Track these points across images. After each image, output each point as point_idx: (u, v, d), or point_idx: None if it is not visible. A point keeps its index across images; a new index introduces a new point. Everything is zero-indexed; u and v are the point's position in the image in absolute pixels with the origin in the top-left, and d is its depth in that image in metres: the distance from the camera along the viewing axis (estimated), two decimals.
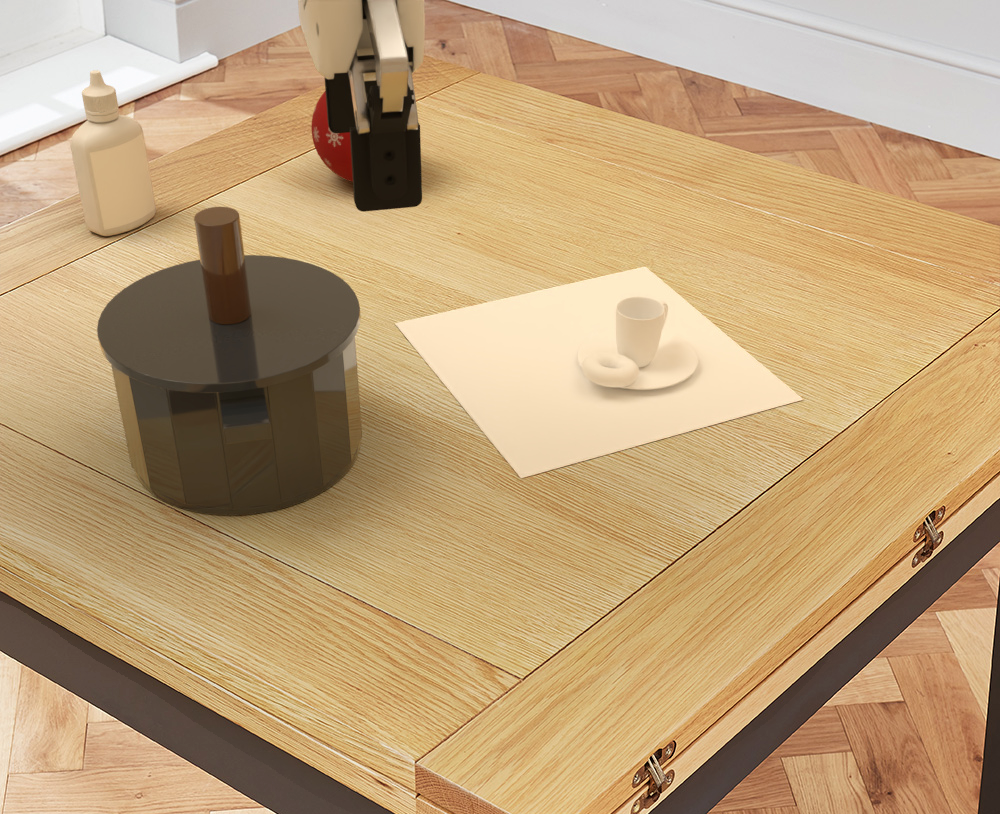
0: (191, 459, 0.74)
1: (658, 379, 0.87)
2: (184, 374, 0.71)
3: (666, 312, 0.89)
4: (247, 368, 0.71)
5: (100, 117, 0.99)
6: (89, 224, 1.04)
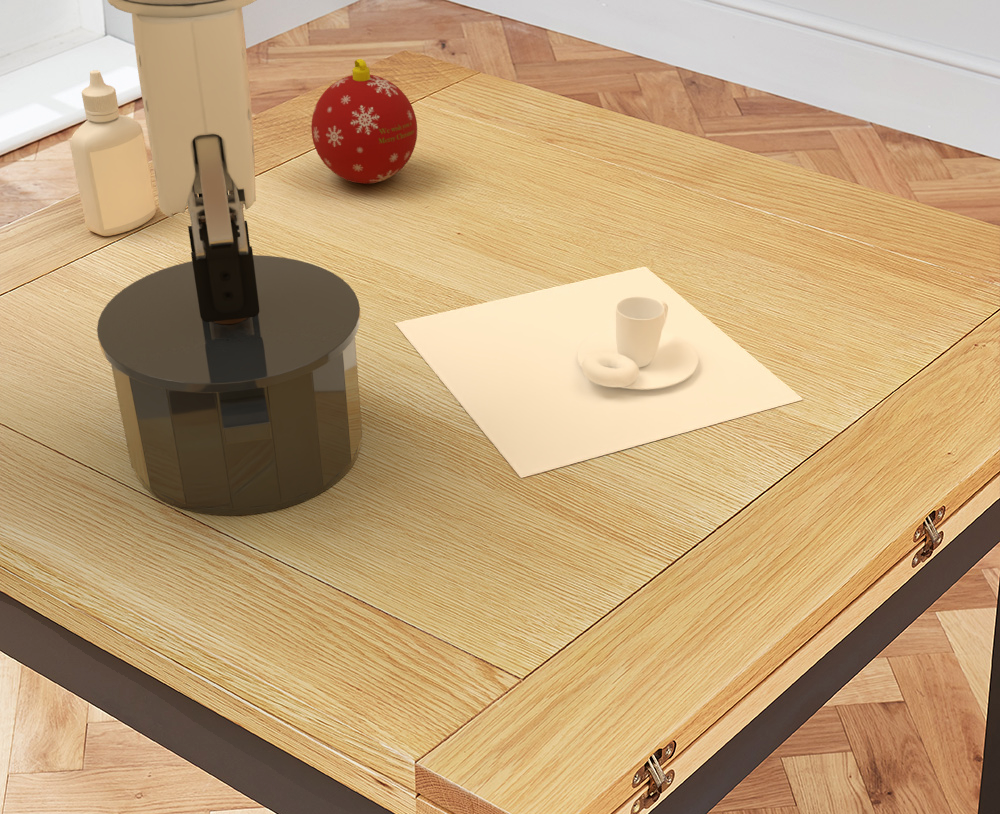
0: (191, 459, 0.74)
1: (658, 379, 0.87)
2: (184, 374, 0.71)
3: (666, 312, 0.89)
4: (247, 368, 0.71)
5: (100, 117, 1.00)
6: (89, 224, 1.04)
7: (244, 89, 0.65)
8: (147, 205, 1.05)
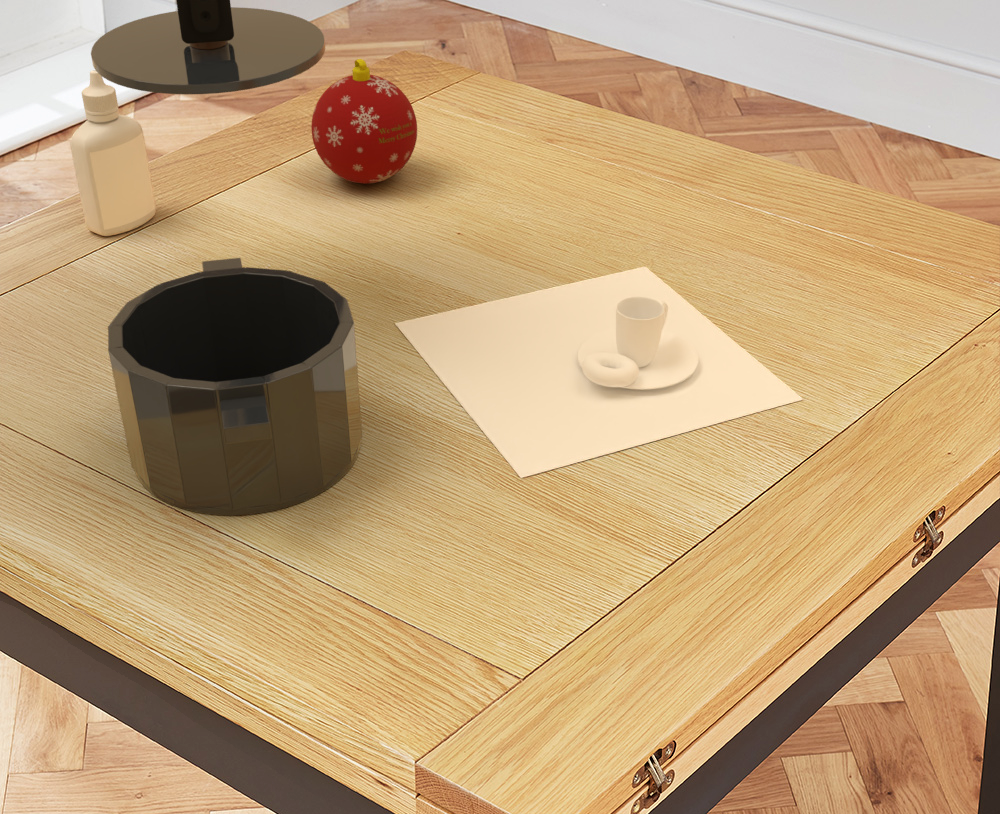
0: (191, 459, 0.74)
1: (658, 379, 0.87)
2: (167, 79, 0.81)
3: (666, 312, 0.89)
4: (223, 75, 0.81)
5: (100, 117, 0.99)
6: (89, 224, 1.04)
7: None
8: (147, 205, 1.05)
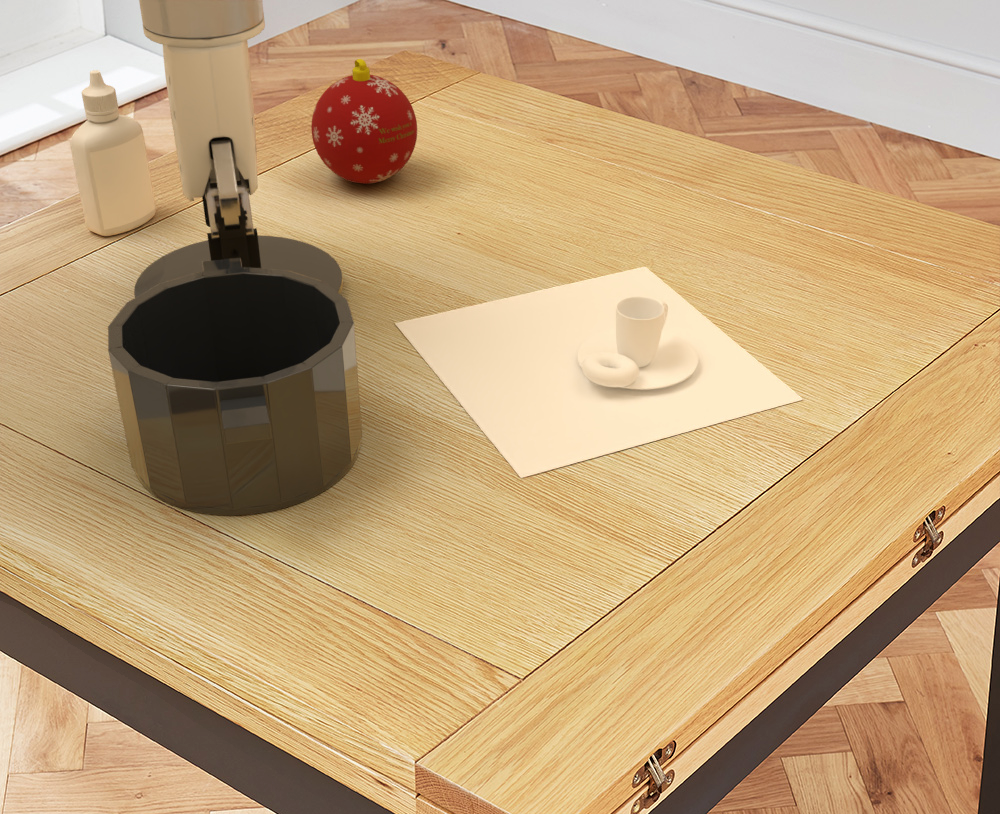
0: (191, 459, 0.74)
1: (658, 379, 0.87)
2: None
3: (666, 312, 0.89)
4: None
5: (100, 117, 0.99)
6: (89, 224, 1.04)
7: (249, 102, 0.84)
8: (147, 205, 1.05)
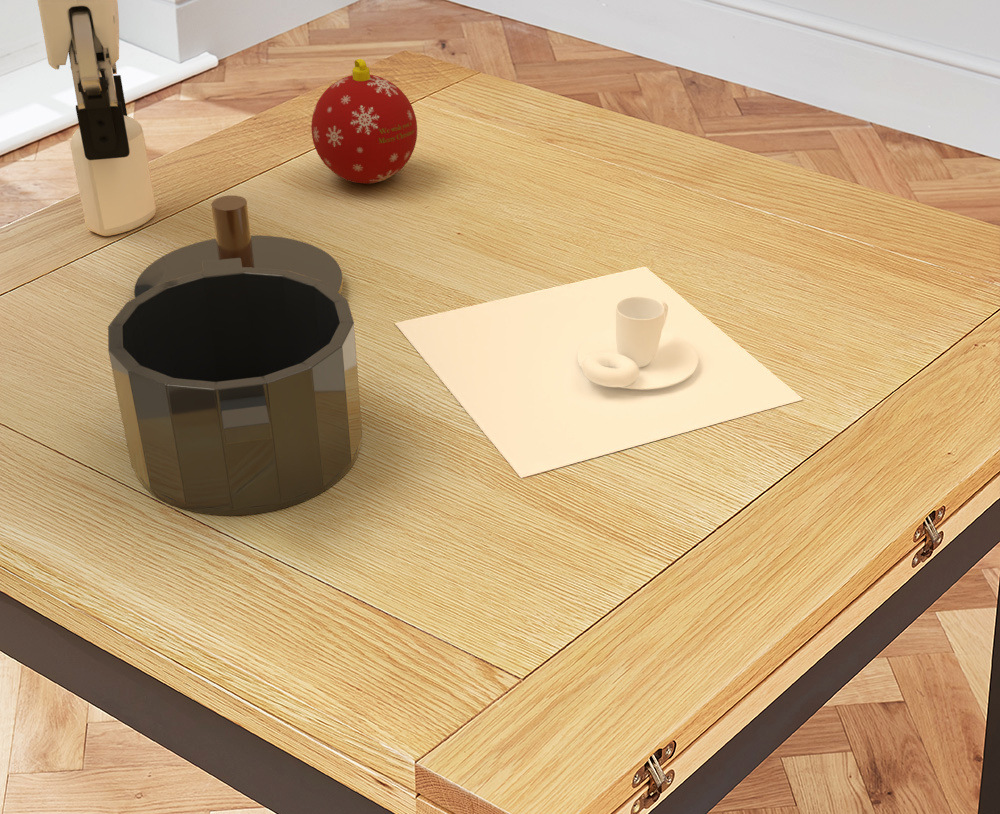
0: (191, 459, 0.74)
1: (658, 379, 0.87)
2: None
3: (666, 312, 0.89)
4: None
5: None
6: (89, 224, 1.04)
7: None
8: (147, 205, 1.05)
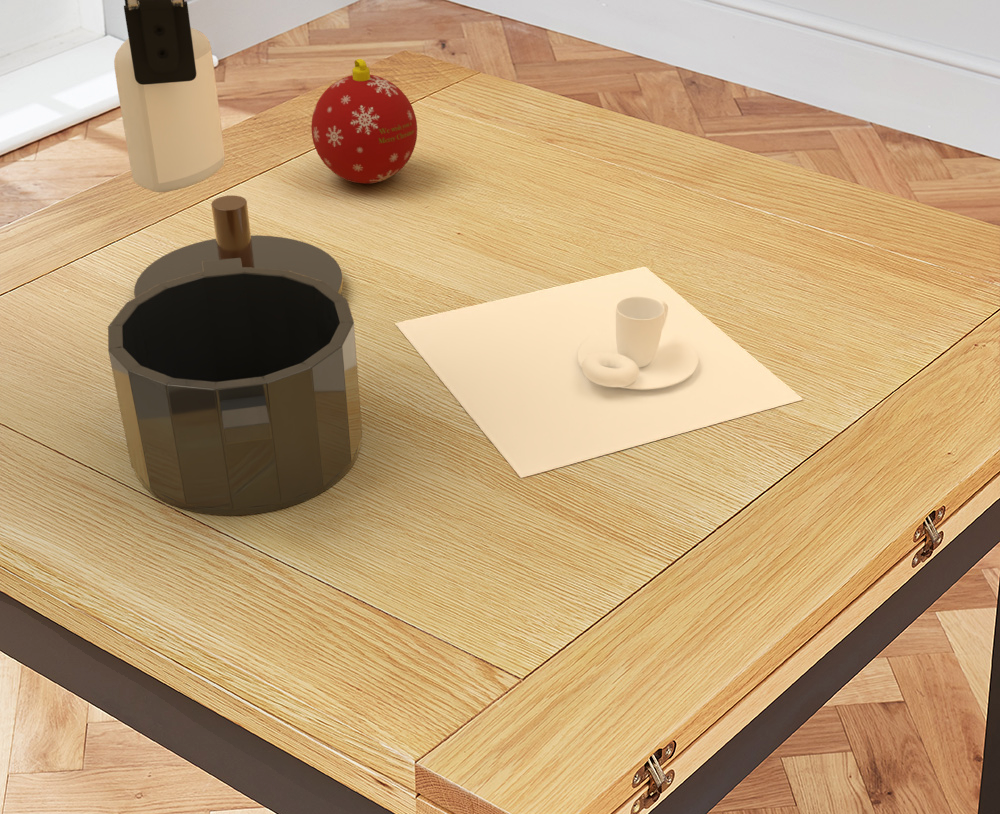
0: (191, 459, 0.74)
1: (658, 379, 0.87)
2: None
3: (666, 312, 0.89)
4: None
5: None
6: (137, 176, 0.76)
7: None
8: (215, 151, 0.78)
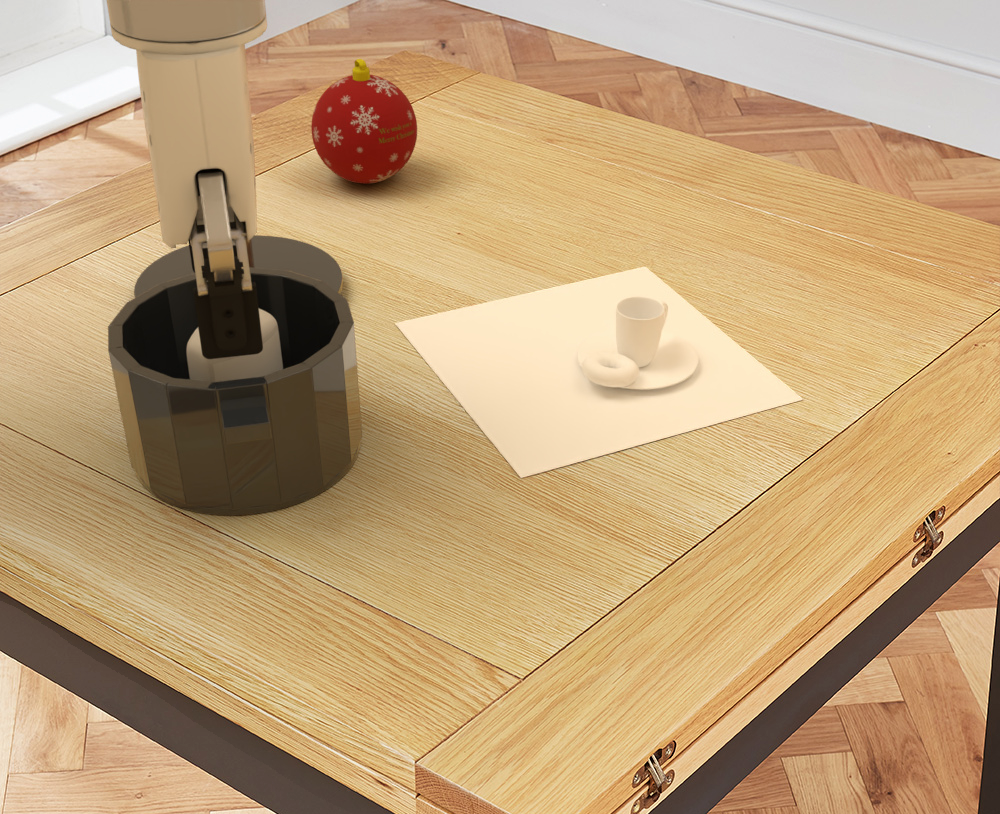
0: (191, 459, 0.74)
1: (658, 379, 0.87)
2: None
3: (666, 312, 0.89)
4: None
5: None
6: None
7: (246, 124, 0.66)
8: None
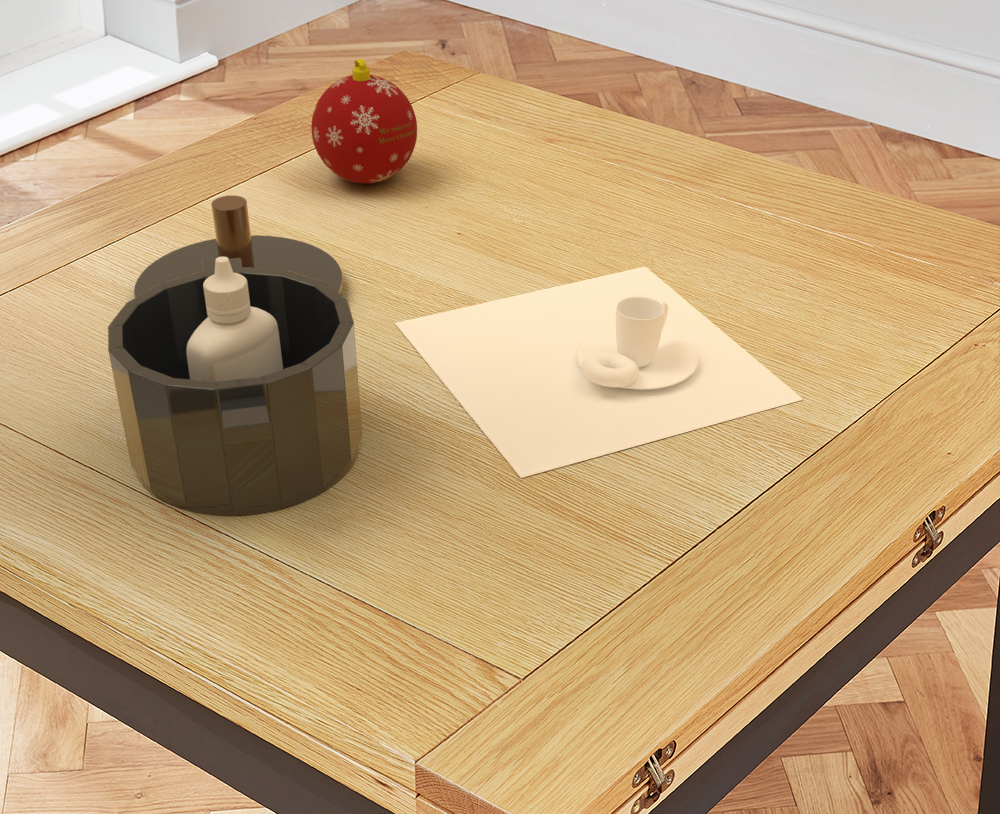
0: (191, 459, 0.74)
1: (658, 379, 0.87)
2: None
3: (666, 312, 0.89)
4: None
5: (227, 318, 0.75)
6: None
7: None
8: None
